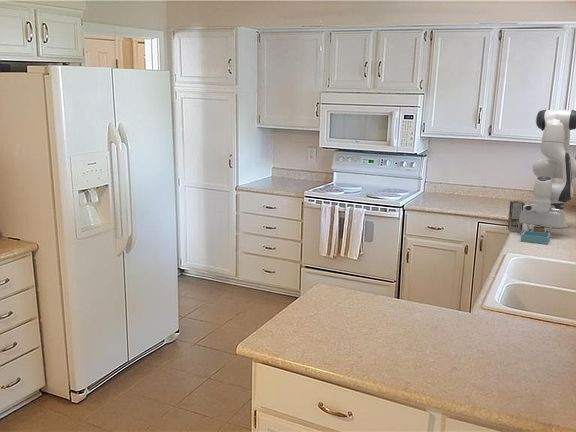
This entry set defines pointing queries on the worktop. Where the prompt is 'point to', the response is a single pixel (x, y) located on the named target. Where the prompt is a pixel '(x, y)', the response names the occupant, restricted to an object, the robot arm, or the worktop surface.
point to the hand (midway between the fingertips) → (538, 233)
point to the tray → (535, 237)
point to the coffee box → (515, 216)
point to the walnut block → (538, 229)
